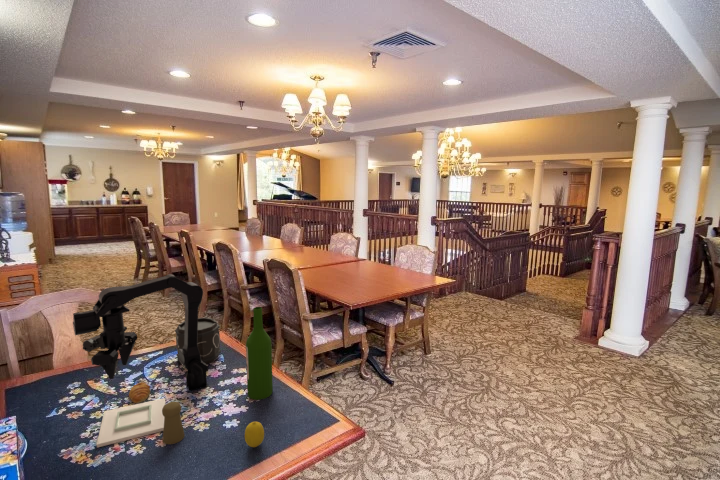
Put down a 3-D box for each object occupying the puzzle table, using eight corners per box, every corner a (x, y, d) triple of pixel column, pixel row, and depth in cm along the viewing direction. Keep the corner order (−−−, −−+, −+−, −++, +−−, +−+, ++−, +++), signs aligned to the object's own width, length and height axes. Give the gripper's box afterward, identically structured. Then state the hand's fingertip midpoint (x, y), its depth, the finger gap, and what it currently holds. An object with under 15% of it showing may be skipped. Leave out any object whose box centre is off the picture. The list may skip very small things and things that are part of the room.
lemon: (247, 441, 115) (246, 416, 114) (265, 440, 116) (265, 415, 114) (243, 454, 110) (242, 428, 109) (262, 453, 110) (262, 427, 109)
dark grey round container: (230, 352, 173) (229, 319, 171) (201, 370, 157) (199, 334, 154) (199, 346, 180) (197, 314, 177) (167, 363, 163) (165, 327, 161)
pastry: (151, 401, 135) (150, 391, 135) (129, 407, 132) (128, 397, 131) (149, 389, 143) (149, 379, 143) (128, 394, 140) (127, 384, 139)
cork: (176, 445, 113) (173, 411, 111) (157, 442, 114) (155, 408, 112) (189, 432, 119) (186, 399, 117) (171, 430, 120) (169, 397, 118)
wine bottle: (247, 388, 144) (244, 305, 139) (271, 385, 147) (269, 303, 141) (248, 401, 135) (244, 313, 130) (273, 397, 138) (271, 311, 133)
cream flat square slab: (165, 400, 136) (164, 395, 135) (166, 429, 120) (165, 424, 120) (104, 414, 127) (104, 408, 127) (96, 447, 112) (96, 441, 111)
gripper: (101, 317, 133) (105, 360, 135) (69, 340, 115) (75, 388, 117) (135, 316, 134) (139, 357, 137) (110, 338, 116) (115, 385, 119)
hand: (118, 371), depth 127 cm, fingers open, 9 cm apart
